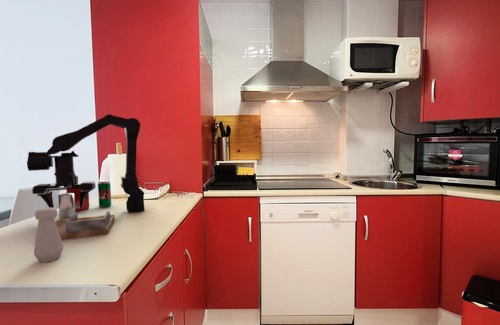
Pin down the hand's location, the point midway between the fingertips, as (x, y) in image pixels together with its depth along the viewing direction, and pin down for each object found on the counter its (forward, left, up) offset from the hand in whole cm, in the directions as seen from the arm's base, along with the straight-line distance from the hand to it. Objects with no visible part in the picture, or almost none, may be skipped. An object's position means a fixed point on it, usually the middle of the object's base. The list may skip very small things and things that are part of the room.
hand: (67, 209), depth 96 cm
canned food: (0, -16, -4) cm, 17 cm away
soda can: (-10, -18, -4) cm, 21 cm away
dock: (-8, +16, -4) cm, 18 cm away
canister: (0, 0, -4) cm, 4 cm away
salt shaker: (-6, +38, -4) cm, 39 cm away
